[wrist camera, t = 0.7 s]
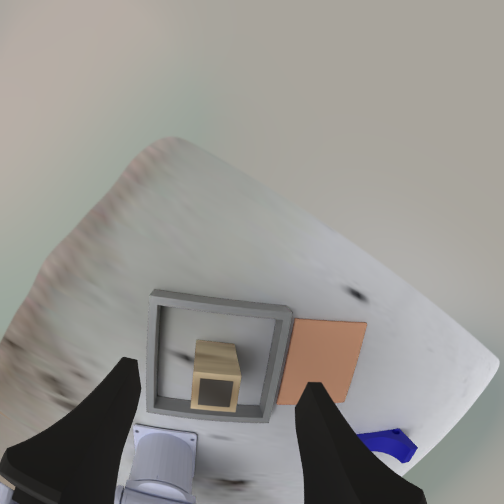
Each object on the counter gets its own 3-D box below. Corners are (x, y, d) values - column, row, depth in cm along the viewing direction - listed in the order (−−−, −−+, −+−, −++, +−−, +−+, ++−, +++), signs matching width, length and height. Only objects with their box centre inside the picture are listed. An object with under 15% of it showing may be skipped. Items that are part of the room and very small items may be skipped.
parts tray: (264, 410, 31) (268, 423, 28) (150, 400, 29) (146, 412, 26) (286, 305, 30) (292, 312, 27) (154, 289, 28) (149, 295, 25)
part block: (229, 375, 30) (235, 412, 23) (193, 372, 29) (190, 408, 22) (234, 343, 30) (241, 376, 23) (196, 339, 29) (193, 371, 22)
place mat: (342, 400, 32) (344, 402, 32) (276, 402, 31) (277, 404, 31) (365, 322, 32) (367, 323, 31) (294, 318, 30) (295, 319, 30)
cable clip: (325, 456, 34) (340, 482, 28) (336, 435, 33) (352, 461, 27) (387, 447, 36) (404, 468, 30) (398, 427, 35) (417, 447, 29)
